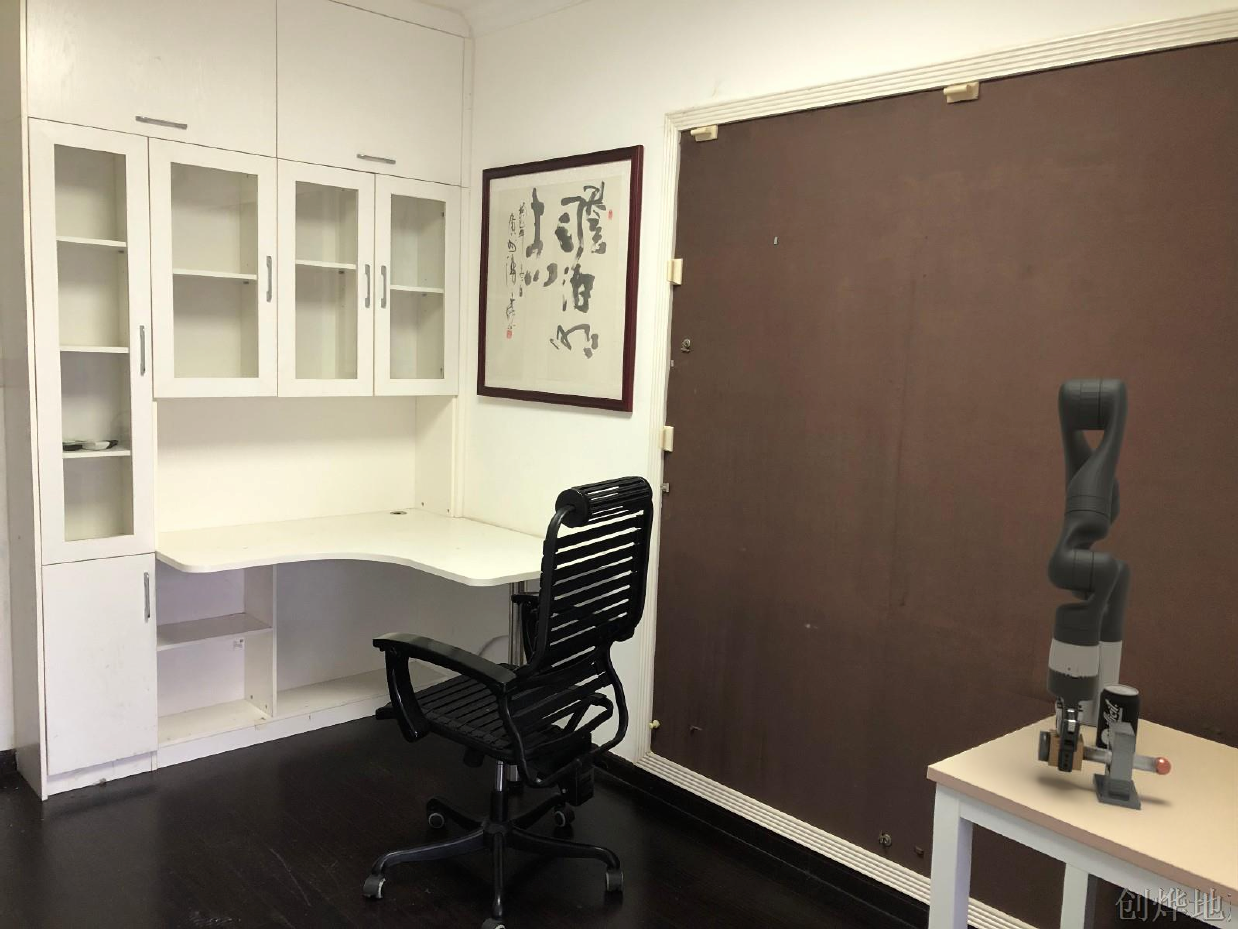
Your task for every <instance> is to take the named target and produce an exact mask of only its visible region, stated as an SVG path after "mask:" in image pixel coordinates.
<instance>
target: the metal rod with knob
mask: <svg viewBox="0 0 1238 929" xmlns="http://www.w3.org/2000/svg"><path fill="white" fill-rule="evenodd" d="M1059 738H1060V735H1059V734H1058V733H1057V730H1056V729H1052V728H1050V729H1049V731H1046V730H1040V731H1039V736H1038V745H1037V746H1038V747H1037V748H1038V749H1037V761H1040V762H1046V763H1047V765H1048V766H1050V767H1055V768H1058V767H1057V766H1058V755H1059V747H1058V744H1059ZM1064 742H1067V743H1072V740H1068V739H1065V741H1064ZM1084 744H1085V741H1084V738H1083V734H1082V733H1080V736H1079V737H1078V744H1077V747H1078V749H1077V751H1076V752H1074V757H1073V767H1072V771H1077V772H1082V769H1083V768H1082V767H1083V765H1082V764H1083V761H1086V762H1090V763H1091V762H1092V763H1095V764H1096V763H1097V764H1101V765H1102V764H1103V765H1106V764H1108V765H1111V757H1112V750H1108V749H1102V748H1098V747H1097V746H1096V747H1095V746H1089V745H1084ZM1171 769H1172V764H1171V762H1170V761H1169V760H1168V759H1167V758H1165V757H1162V756H1157V757H1154V756H1150V755H1149V756H1148V755H1144V754H1138V753H1137V754H1136V753H1134V759H1133V769H1132V770H1139V771H1143V772H1149V773H1155V774H1158V775H1160V776H1166V775H1168V774H1169V773H1170V772H1171Z"/></svg>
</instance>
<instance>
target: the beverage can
mask: <svg viewBox="0 0 1238 929" xmlns="http://www.w3.org/2000/svg"><path fill="white" fill-rule="evenodd" d="M1140 708H1141V698H1140V696H1139V690H1137V688H1134V687H1133V686H1129V685H1124V684H1119V683H1118V684H1105V685H1104V689H1103V690H1102V692H1101V693H1100V702H1099V712H1098V722H1097V726H1096V734H1095V746H1096V748H1102V749H1107V746H1108V737H1109V727H1110V720H1112V721H1119V722H1125V723H1130V724H1131V727H1132V729H1133V732H1134V734H1135V737H1136V740H1135V748H1136V746H1137V736H1138V727H1139V716H1140ZM1135 752H1136V749H1135V750H1134V754H1136V753H1135Z"/></svg>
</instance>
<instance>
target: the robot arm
mask: <svg viewBox="0 0 1238 929" xmlns="http://www.w3.org/2000/svg"><path fill="white" fill-rule="evenodd" d="M1128 411H1129V392H1128V386H1127V385H1126V383H1125V382H1124V380H1122V379H1119V378H1072V379H1066V380H1064V381H1063V382H1062V383H1061V384H1060V387H1059V389H1058V394H1057V412H1058V420H1059V427H1060V428H1059V429H1060V434H1061V435H1060V436H1061V441H1062V447H1063V448H1062V449H1063V457H1064V494H1065V500H1064V502H1065V503H1064V511H1063V512H1064V513H1063V522H1062V527H1061V531H1060V535H1059V537H1058V540H1057V542H1056V544H1055V547H1054V548H1053V550H1052V552H1051V555H1050V558H1049V560H1048V563H1047V567H1046V574H1047V578H1048V581H1049V582H1050V584H1051V585H1052V586H1053V587H1055V588H1056V589H1060V590H1065V591H1066V590H1067V591H1069V592H1070V595H1071V596H1072V597H1073V598H1075V599H1077V600H1080V602H1078V601H1077V602H1068V603H1067V602H1066V603H1061V604H1059V605H1058V606H1057V607H1056V608H1055V611H1054V619H1053V620H1054V622H1053V628H1052V629H1053V630H1052V640H1051V645H1050V648H1049V656H1048V666H1047V679H1046V691H1047V692H1048V693H1049V694H1050V695H1052V696H1054V697H1056V698H1057V700H1056V701H1055V706H1054V708H1055V712H1056V713H1055V718H1054V720H1055V721H1054V723H1055V730H1057V733H1058V734H1059V735H1060V738H1059V744H1058V747H1059V755H1058V766H1057V767H1056V768H1057V770H1058V771H1059V772H1063V773H1072V772H1073V770H1072V767H1073V757H1074V752H1076V751H1077V749H1078V747H1077V744H1078V737H1079V736H1080V734H1081V727H1082V724H1083V725H1087V726H1093V727H1097V722H1098V712H1099V702H1100V693H1101V692H1102V690H1103V689H1104V685H1105V684H1119V678H1120V668H1121V667H1120V666H1121V657H1122V649H1123V648H1122V646H1123V637H1124V628H1125V618H1126V611H1127V604H1128V598H1129V592H1130V586H1131V585H1130V584H1131V581H1132V580H1131V577H1132V572H1131V566H1130V564H1129V563H1128V561H1126V560H1123V559H1118V558H1116V557H1115V556H1114V555H1113V554H1112V553H1110V552H1108V551H1103V550H1096V549H1095V550H1093V549H1091V548H1092V546H1093V545H1094V544H1095V542H1097V541H1101V540H1104V539H1105V538H1107V537H1108V534H1109V533H1110V528H1111V527H1112V526H1113V525H1114V523H1115V522H1116V520H1117V518H1118V517H1119V514H1120V510H1121V498H1120V497H1121V496H1120V493H1121V491H1120V483H1119V480H1118V477H1117V475H1116V473H1117V468H1118V465H1119V460H1120V455H1121V451H1122V447H1123V442H1124V436H1125V432H1126V426H1127V421H1128V420H1127V419H1128ZM1084 431H1101V432H1102V431H1103V435H1102V438H1101V441H1100V443H1099V444H1098V446H1097V448H1096V449H1095V450H1094V449H1093V448H1092V446H1091V445H1090V443H1089V442H1088V440H1087V438H1086V436H1085V433H1084ZM1106 606H1107V607H1106ZM1065 739H1068V740H1072V743H1067V742H1064V741H1065Z"/></svg>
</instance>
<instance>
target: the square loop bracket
mask: <svg viewBox="0 0 1238 929" xmlns="http://www.w3.org/2000/svg"><path fill="white" fill-rule="evenodd" d="M1135 740H1136V741H1137V738H1136V737H1135V734H1134V732H1133V729H1132V727H1131V724H1130V723H1125V722H1119V721H1112V720H1110V727H1109V737H1108V746H1107V749H1108V750H1112V757H1111V765H1108V764H1105V767H1104V774H1100V773H1094V772H1093V777H1092V779H1093V780H1092V781H1093V785H1094V788H1095V792H1096V796H1097V799H1098V803H1102V804H1107V805H1112V806H1118V807H1122V808H1129V809H1135V810H1139V811H1140V810H1141V806H1142V802H1141V800H1140V797H1139V794H1138V791H1137V787H1136V785H1135V782H1134V780H1133V779H1132V777H1133V770H1134V769H1133V759H1134V754H1135V753H1134V750H1135V751H1136V747H1135Z"/></svg>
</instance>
